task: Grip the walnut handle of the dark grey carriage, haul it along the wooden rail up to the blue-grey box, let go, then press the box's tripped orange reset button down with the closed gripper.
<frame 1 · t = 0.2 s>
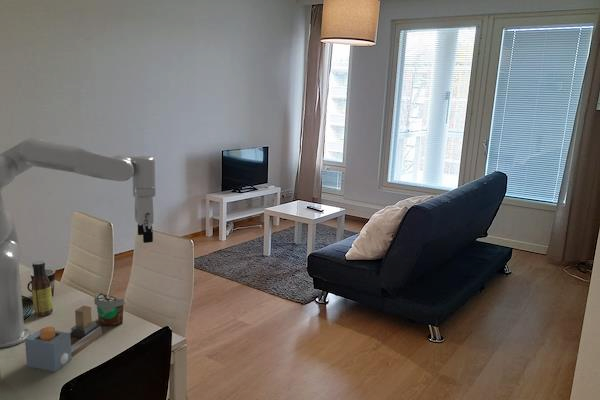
hand: (145, 238, 173), 31 cm above the table, tool pointing down, fingers open, 9 cm apart
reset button: (47, 336, 146), point 9 cm above the table, slide at 0.0 cm
blue-grey box: (49, 363, 147), on the table
carriage: (83, 321, 161), point 6 cm above the table, slide at 0.0 cm
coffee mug: (40, 297, 192), on the table
rail: (68, 350, 155), on the table
food container: (106, 324, 174), on the table
sauce bottle: (43, 313, 179), on the table
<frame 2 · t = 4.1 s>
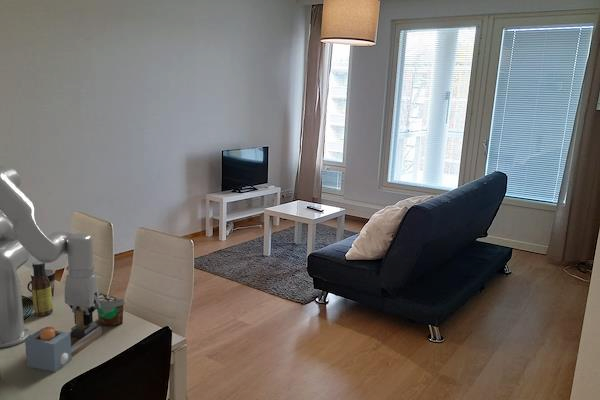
hand: (83, 322, 161), 6 cm above the table, tool pointing down, fingers closed on carriage, 3 cm apart
carriage: (83, 321, 161), point 6 cm above the table, slide at 0.0 cm, touching gripper
everything else where it was.
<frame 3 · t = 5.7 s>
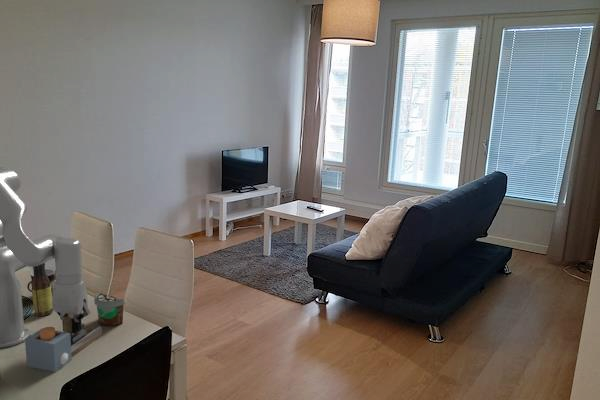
hand: (72, 330, 156), 6 cm above the table, tool pointing down, fingers closed on carriage, 3 cm apart
carriage: (72, 328, 156), point 6 cm above the table, slide at 5.6 cm, touching gripper
everything else where it was.
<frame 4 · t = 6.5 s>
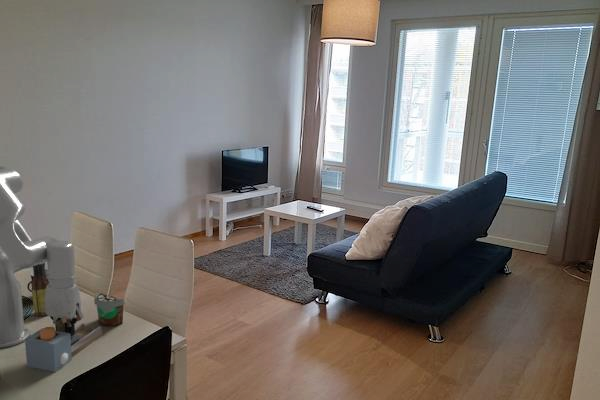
hand: (65, 334, 153), 6 cm above the table, tool pointing down, fingers closed on carriage, 3 cm apart
carriage: (65, 333, 153), point 6 cm above the table, slide at 8.7 cm, touching gripper
everything else where it was.
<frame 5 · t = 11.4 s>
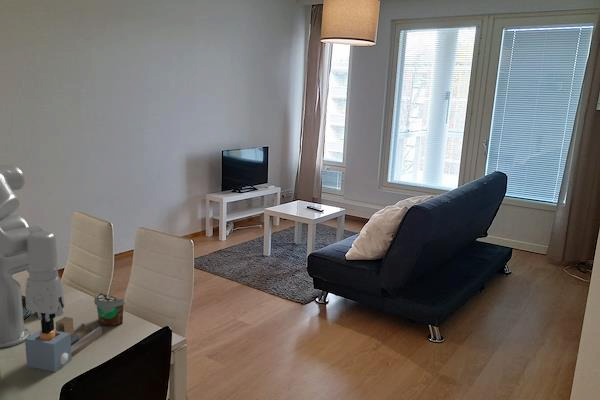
hand: (48, 331, 145), 11 cm above the table, tool pointing down, fingers closed
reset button: (48, 338, 146), point 8 cm above the table, slide at 0.4 cm, touching gripper
carriage: (65, 333, 153), point 6 cm above the table, slide at 8.8 cm
everything else where it was.
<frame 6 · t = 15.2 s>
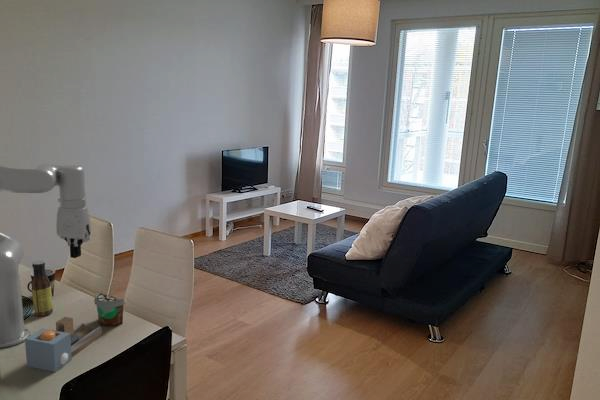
hand: (75, 256, 162), 27 cm above the table, tool pointing down, fingers closed
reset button: (48, 340, 146), point 8 cm above the table, slide at 1.2 cm
everything else where it was.
at the end: carriage slide at 8.8 cm; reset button slide at 1.2 cm; the gripper is holding nothing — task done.
